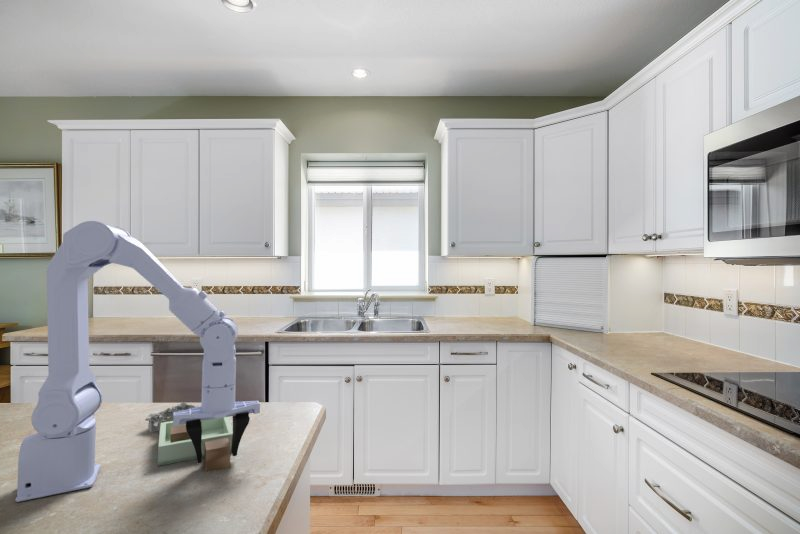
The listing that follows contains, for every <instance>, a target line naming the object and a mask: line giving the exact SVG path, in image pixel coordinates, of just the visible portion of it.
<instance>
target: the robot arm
mask: <svg viewBox="0 0 800 534" xmlns="http://www.w3.org/2000/svg"><path fill="white" fill-rule="evenodd" d="M110 264H116V265H120V266H124V267H128V268H131V269H133V270H135V272H137V273H138V274H139V275H140V276H142V278H143V279H145V280H146V281H147V282H148V283H150V284H151V285H152V286H153V287H154V288H155V289H156V290H157V291H159V292H160V293H161V294H162V295H163V296H164V297H166V298H167V300H168V310H169V312H170V313H172V314H173V316H175V317H176V318H177V319H178V320H179V321H180V322H181V323H182V324H184V325H185V327H187V328H188V329H189V330H190V332H192V334H194V335H196V336H199V344H200V346H201V347H202V349H203V359H202V362H201V363H202V372H201V373H202V374H201V375H202V376H201V403H200V404H201V405H200V406H198V407H197V406H195V407H196V408H192V409H188V410H183V411H178V412H174V413H173V426H179V425H180V424H184V423H186V431H187V433H188V435H189V437H190V438H191V440H192V443H193V445H194V448H195V451H196V455H197V459H196V463H197V464H202V463H203V461H202V460H203V457H202V451H201V439H202V423H201V421H204V420H210V419H218V418H224V417H229V418H230V417H232V428H233V436H232V452H231V455H232V457H235V456H236V457H237V456H238V451H239V447H240V443H241V439H242V437H243V434H244V433H245V431H246V429H247V426H249V423H250V415H249V414H254V415H256V414H260V413H261V410H260V409H261V403H260V401H259V400H250V401H248V400H247V401H236V379H237V378H236V377H237V376H236V374H237V357H236V352H237V349H236V343H235V342H236V340H237V338H238V335H239V330H238V326H237V324H236V323H235V321H234V320H233V319H232V318H231V317H226V315H227V313H226V312H225V311H224V310H221V311H220V310H219V308H217V307H216V306H215V305H213V303H212V302H210V301H209V299H207V297H209V295H208V293H206V291H204V290H201V291H199V289H197V288H196V287H184V286H183V284H182V283H181V282H180V281H179V280H178V279H177V278H176V277H175V276H174V275H173V274H172V273H171V272H170V271H169V269H167V268H166V266H165V265H164V264H163V263H162V262H161V261H160V260H159V259H158V258H157V257H156V255H154V253H152V252H151V251H150V250H149V249H148V248H147V247H146V246H145V245H144V244H143V243H142V242H141V241H140V240H138V239H137V238H135V237H132V236H131V234H130V233H129V232H128V231H127V230H125V228H122V227H119V226H112V225H108V224H105V223H103V222H100V221H97V220H87V221H83V222H80V223H79V224H78V223H77V225H75V226H73V227H72V228H70V229H69V230H67V231H65V232H64V233H63V235H62V243H61V244H60V245H59V247H58V248H57V250H56V251H55V253H54V255H53V257H52V258H51V259H50V261H49V262H48V264H47V265H46V311H47V312H46V313H47V318H46V319H47V320H46V321H47V362H48V363H47V364H48V367H47V368H48V369H47V370H48V376H47V377H46V378H45V380H44V382H43V384H42V385H41V387H40V389H39V391H38V394H37V395H38V401H37V404H36V406H35V408H34V409H33V411H32V414H31V420H30V421H31V425H32V427H33V428H34V430H35V431H36V432H37V433H36V432H35V433H32V434H28V435H25V436H24V437H23V440H22V442H21V444H20V447H19V448H20V449H19V453H18V461H17V462H18V463H17V464H18V465H17V486H16V488H17V490H16V491H17V492H16V497H15V502H18V503H19V502H24V501H28V500H33V499H40V498H43V497H48V496H53V495H58V494H64V493H68V492H73V491H77V490H82V489H83V490H84V489H88V488H92V487H93V486H94V484H95V482H96V479H97V476H98V474H99V471H100V468H101V463H95V462H96V431H97V430H96V429H97V420H96V417H95V413H96V412H97V411H98V410H99V409H100V407H101V406H102V403H103V393H102V391H101V389H100V388H99V387H98V384H97V375H96V374H95V373H94V371H92V369H91V368H90V338H89V337H90V332H89V327H90V325H89V289H88V288H89V287H88V286H89V285H88V284H89V283H88V282H89V281H88V280H89V278H90V277H92V276H93V275H95V273H97V272H98V271H100V270H101V269H103V268H104V267H105V266H108V265H110Z"/></svg>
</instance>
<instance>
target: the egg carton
mask: <svg viewBox="0 0 800 534" xmlns="http://www.w3.org/2000/svg"><path fill="white" fill-rule="evenodd" d="M196 407H199V406H198V405H197V406H196V405H192V404H191V403H190V404H188V403H187V402H185V401H184V402H181V403H179V404H177V405H176V406H172V407H171V408H170V407H168V408H166V409H165V410H162V411H159V412H156V413H150V414H148V415H147V416H146V418H145V419H144V421H145V422H147V421H148V426H147V429H148V432H149V433H154V432H159V435H160V425H161V423H163V422H170V421H173V413H174V412H178V411H183V410H188V409H192V408H196Z"/></svg>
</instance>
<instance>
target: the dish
mask: <svg viewBox="0 0 800 534" xmlns="http://www.w3.org/2000/svg"><path fill="white" fill-rule="evenodd" d="M201 423H202V439H201V451H202V458H204V456H205V442H207V441H213V440H219V439H224V438H228V440H229V443H230V453H232V436H233V424H232V423H231V419H230V417H224V418H218V419H210V420H204V421H201ZM181 425H186V423H184V424H180V425H179V426H181ZM171 427H174V426H173V421H170V422H163V423H161V425H160V434H159V437H158V438H159V439H158V447H157V448H158V450H157V467H160V466H164V465H171V464H176V463H181V462H186V461H190V460H197V455H196V451H195V448H194V445H193V443H192V440H191V439H189V440H183V441H178V442H172V443H170V437H171Z"/></svg>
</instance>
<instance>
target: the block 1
mask: <svg viewBox="0 0 800 534" xmlns="http://www.w3.org/2000/svg"><path fill="white" fill-rule="evenodd" d="M189 439H191V438H190V437H189V435H188V433H187V431H186V425H181V426H174V427H171V437H170V443H172V442H178V441H183V440H189Z"/></svg>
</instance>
